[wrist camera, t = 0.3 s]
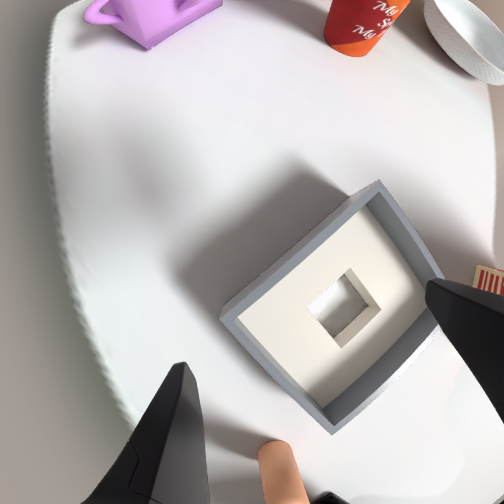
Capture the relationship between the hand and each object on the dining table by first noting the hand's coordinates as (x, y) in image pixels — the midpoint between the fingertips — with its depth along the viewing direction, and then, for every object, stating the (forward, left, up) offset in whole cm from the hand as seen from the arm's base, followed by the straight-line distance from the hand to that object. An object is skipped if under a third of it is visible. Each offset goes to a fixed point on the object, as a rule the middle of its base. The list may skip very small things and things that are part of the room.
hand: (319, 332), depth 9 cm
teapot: (+30, -12, -14) cm, 35 cm away
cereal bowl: (+7, -44, -14) cm, 46 cm away
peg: (-12, +9, -14) cm, 21 cm away
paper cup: (+15, -25, -14) cm, 32 cm away
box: (-4, -4, -14) cm, 15 cm away
